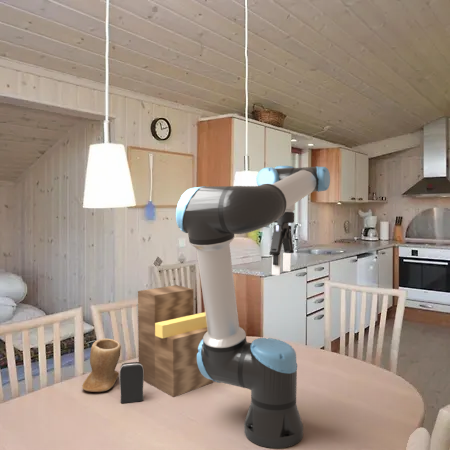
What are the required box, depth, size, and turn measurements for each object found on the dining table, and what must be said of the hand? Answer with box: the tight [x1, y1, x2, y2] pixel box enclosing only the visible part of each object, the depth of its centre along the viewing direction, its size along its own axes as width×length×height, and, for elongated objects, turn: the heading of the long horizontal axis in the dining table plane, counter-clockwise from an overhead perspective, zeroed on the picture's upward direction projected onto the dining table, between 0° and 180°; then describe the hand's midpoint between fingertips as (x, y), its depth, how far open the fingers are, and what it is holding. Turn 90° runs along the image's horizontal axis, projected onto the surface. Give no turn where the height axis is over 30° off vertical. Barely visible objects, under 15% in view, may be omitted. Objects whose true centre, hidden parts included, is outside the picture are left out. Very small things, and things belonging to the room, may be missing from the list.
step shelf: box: [137, 284, 214, 398], centre depth 146 cm, size 16×20×30 cm
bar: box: [155, 311, 207, 339], centre depth 145 cm, size 28×4×4 cm, turn 133°
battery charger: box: [119, 361, 144, 404], centre depth 132 cm, size 7×4×11 cm, turn 103°
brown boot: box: [81, 338, 122, 393], centre depth 143 cm, size 15×12×15 cm
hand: (281, 273), depth 150 cm, fingers open, 13 cm apart
